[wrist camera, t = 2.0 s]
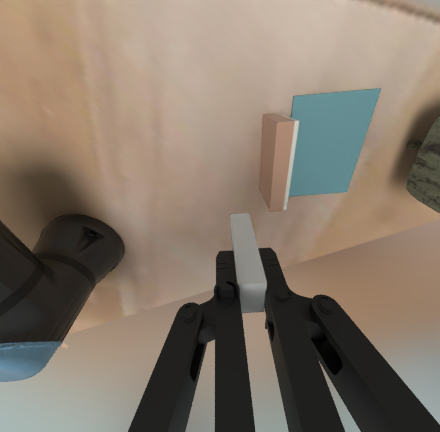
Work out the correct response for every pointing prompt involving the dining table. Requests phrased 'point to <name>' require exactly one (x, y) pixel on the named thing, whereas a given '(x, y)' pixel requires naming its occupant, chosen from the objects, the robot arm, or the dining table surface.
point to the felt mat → (329, 139)
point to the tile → (277, 159)
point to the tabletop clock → (426, 169)
